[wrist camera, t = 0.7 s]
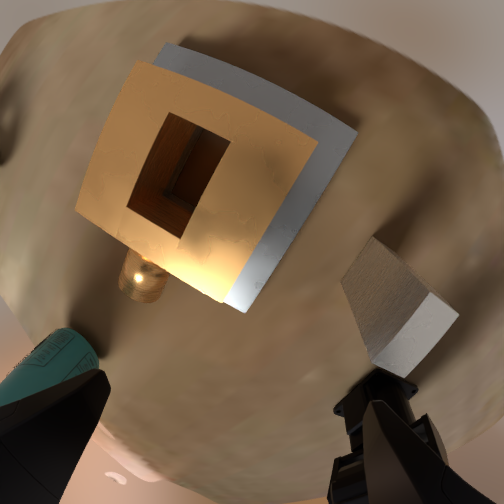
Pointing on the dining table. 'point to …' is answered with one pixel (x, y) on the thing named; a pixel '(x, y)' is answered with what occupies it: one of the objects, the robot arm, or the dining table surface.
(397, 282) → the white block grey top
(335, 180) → the dining table surface
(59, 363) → the beverage bottle
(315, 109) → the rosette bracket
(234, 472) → the dining table surface
